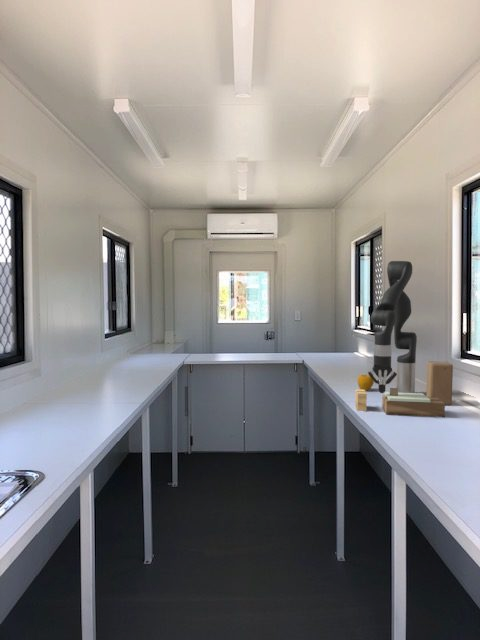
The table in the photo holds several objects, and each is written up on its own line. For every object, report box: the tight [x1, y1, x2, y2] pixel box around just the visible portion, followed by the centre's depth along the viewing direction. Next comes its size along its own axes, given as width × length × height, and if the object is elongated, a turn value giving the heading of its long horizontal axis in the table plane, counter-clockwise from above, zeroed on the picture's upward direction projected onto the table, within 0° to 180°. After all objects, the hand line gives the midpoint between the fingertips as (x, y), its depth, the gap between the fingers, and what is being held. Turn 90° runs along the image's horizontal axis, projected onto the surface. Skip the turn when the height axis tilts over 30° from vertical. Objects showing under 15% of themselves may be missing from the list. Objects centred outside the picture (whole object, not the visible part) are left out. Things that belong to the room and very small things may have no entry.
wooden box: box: [381, 394, 446, 418], centre depth 200 cm, size 12×24×6 cm, turn 81°
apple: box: [357, 374, 375, 392], centre depth 249 cm, size 8×8×9 cm
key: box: [354, 388, 368, 412], centre depth 208 cm, size 9×4×8 cm, turn 171°
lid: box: [384, 387, 430, 402], centre depth 201 cm, size 13×17×4 cm
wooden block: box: [425, 360, 454, 406], centre depth 219 cm, size 10×10×20 cm
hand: (381, 392), depth 202 cm, fingers closed
